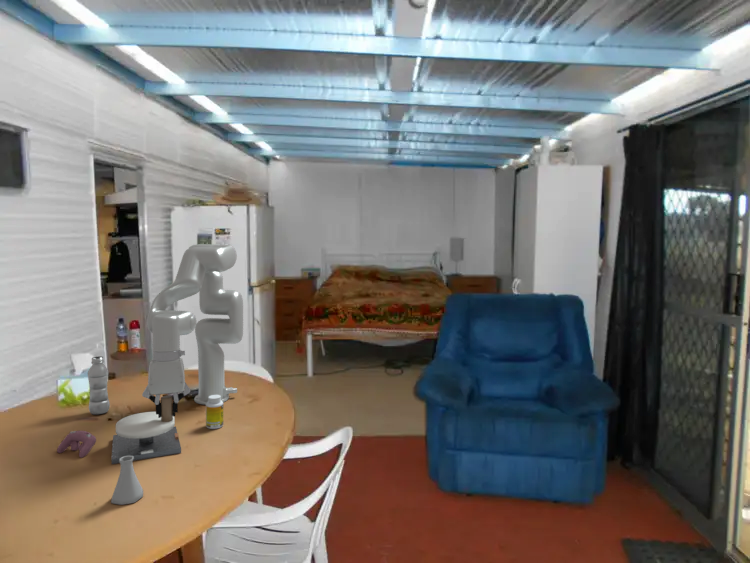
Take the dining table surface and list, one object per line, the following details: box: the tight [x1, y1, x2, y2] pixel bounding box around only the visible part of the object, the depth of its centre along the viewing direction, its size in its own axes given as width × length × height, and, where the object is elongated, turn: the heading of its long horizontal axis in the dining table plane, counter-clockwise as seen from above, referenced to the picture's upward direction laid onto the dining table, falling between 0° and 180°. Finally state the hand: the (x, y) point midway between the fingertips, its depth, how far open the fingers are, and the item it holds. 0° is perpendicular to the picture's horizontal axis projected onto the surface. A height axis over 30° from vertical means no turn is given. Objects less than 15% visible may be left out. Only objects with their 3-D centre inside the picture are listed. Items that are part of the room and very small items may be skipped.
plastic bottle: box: [87, 356, 111, 415], centre depth 176 cm, size 6×7×20 cm
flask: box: [110, 456, 144, 506], centre depth 121 cm, size 7×7×10 cm
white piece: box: [115, 395, 176, 438], centre depth 150 cm, size 16×16×9 cm
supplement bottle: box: [205, 395, 224, 430], centre depth 167 cm, size 6×6×10 cm
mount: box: [111, 425, 182, 465], centre depth 150 cm, size 18×18×6 cm
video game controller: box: [56, 430, 97, 459], centre depth 146 cm, size 10×5×7 cm, turn 71°
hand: (166, 415), depth 151 cm, fingers open, 3 cm apart
